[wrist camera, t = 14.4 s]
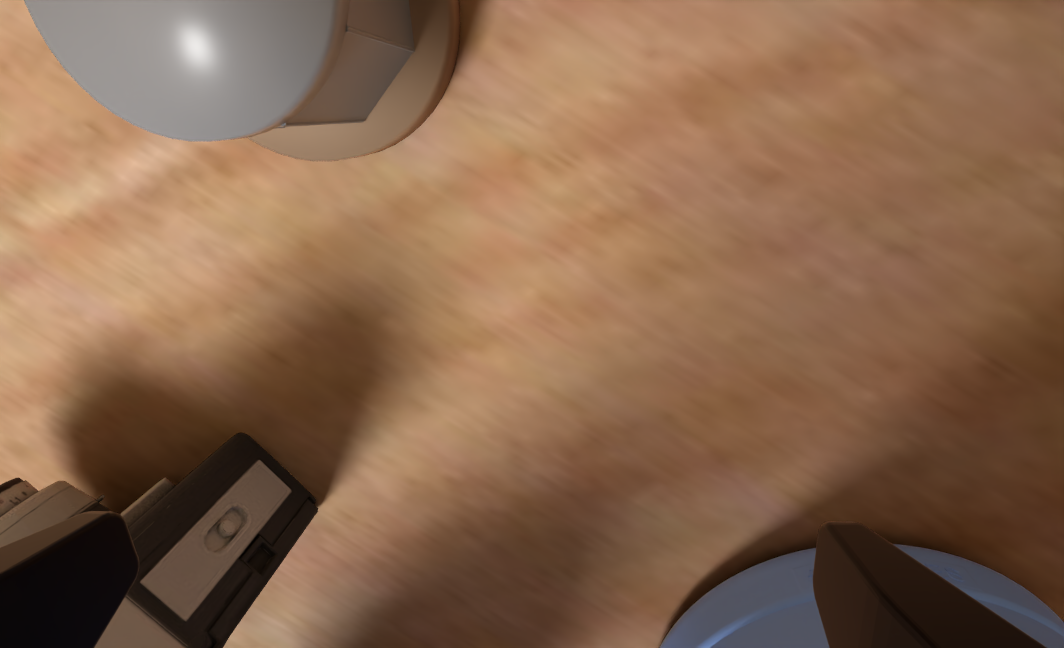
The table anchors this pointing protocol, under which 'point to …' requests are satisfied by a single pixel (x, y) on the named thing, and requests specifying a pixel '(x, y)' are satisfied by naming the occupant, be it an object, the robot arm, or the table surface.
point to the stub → (386, 95)
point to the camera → (186, 543)
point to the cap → (229, 60)
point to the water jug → (793, 617)
